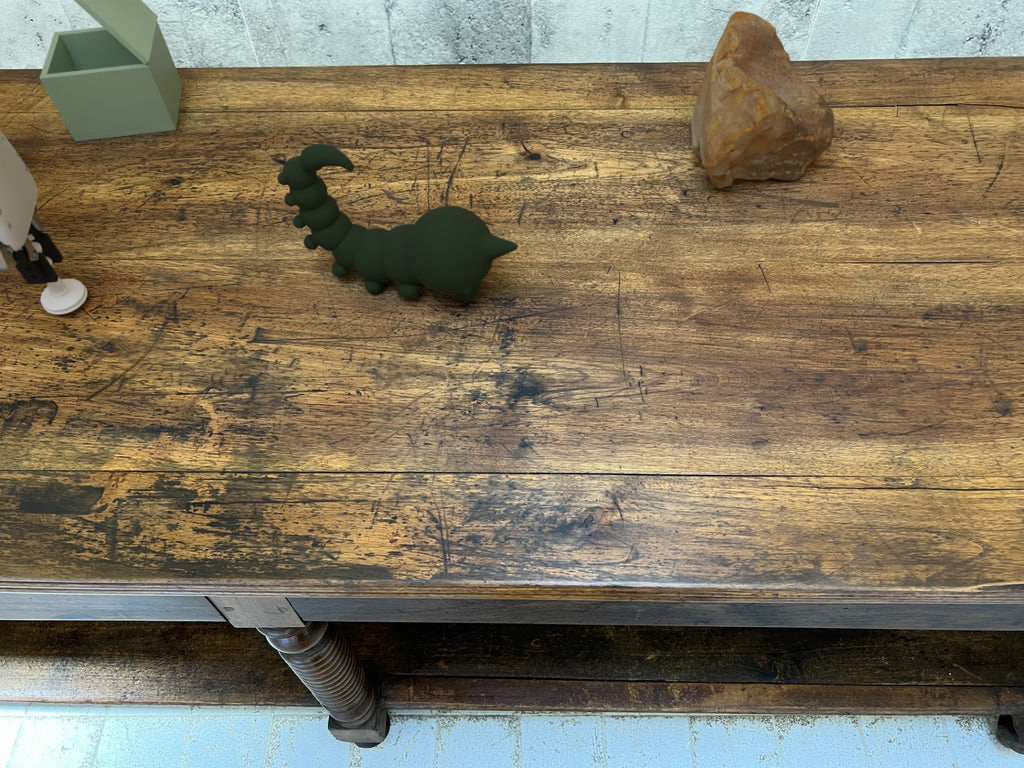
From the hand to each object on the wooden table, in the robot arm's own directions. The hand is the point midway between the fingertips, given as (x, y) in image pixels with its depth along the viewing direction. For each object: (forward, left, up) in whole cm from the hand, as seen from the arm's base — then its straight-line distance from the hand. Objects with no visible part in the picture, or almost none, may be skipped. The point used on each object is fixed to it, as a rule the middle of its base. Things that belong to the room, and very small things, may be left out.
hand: (46, 270), depth 90 cm
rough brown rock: (+85, +11, -6) cm, 85 cm away
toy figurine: (+40, -3, -6) cm, 40 cm away
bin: (+3, +36, -6) cm, 36 cm away
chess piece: (0, 0, -5) cm, 5 cm away
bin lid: (+6, +36, +11) cm, 38 cm away
